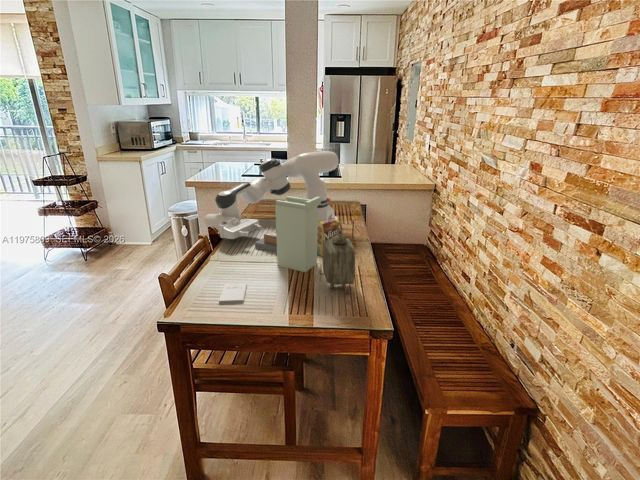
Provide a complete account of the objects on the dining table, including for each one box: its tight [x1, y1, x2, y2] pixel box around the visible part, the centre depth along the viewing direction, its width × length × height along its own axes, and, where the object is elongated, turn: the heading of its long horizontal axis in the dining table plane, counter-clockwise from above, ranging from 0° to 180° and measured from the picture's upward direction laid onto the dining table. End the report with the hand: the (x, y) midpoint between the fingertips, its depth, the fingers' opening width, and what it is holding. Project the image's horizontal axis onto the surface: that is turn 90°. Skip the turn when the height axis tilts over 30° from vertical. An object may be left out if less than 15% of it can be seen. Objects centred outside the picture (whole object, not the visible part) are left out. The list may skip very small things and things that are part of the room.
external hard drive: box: [218, 282, 248, 304], centre depth 132 cm, size 2×8×12 cm
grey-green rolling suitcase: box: [322, 221, 356, 295], centre depth 132 cm, size 14×9×25 cm, turn 8°
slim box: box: [263, 231, 277, 245], centre depth 167 cm, size 4×22×4 cm, turn 61°
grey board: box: [254, 237, 277, 253], centre depth 169 cm, size 9×28×2 cm, turn 61°
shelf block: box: [274, 195, 321, 273], centre depth 149 cm, size 10×15×29 cm, turn 61°
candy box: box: [317, 218, 340, 257], centre depth 164 cm, size 9×4×15 cm, turn 123°
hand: (255, 231), depth 174 cm, fingers open, 8 cm apart
